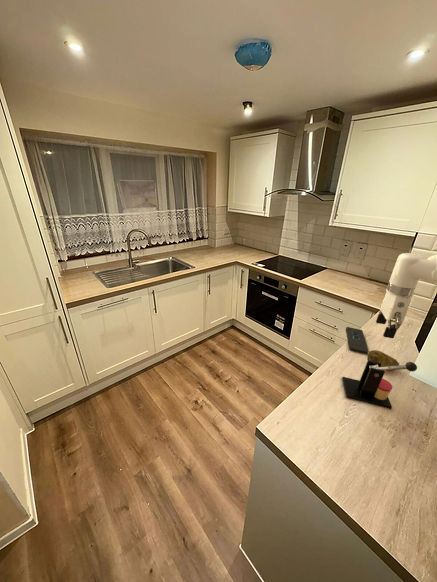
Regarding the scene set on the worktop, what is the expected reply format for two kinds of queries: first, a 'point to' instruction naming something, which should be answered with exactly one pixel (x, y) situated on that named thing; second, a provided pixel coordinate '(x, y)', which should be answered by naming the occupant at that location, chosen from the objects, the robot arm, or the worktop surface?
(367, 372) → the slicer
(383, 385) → the cake
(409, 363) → the black ball knob
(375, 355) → the potato
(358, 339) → the smart home device
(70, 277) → the worktop surface
